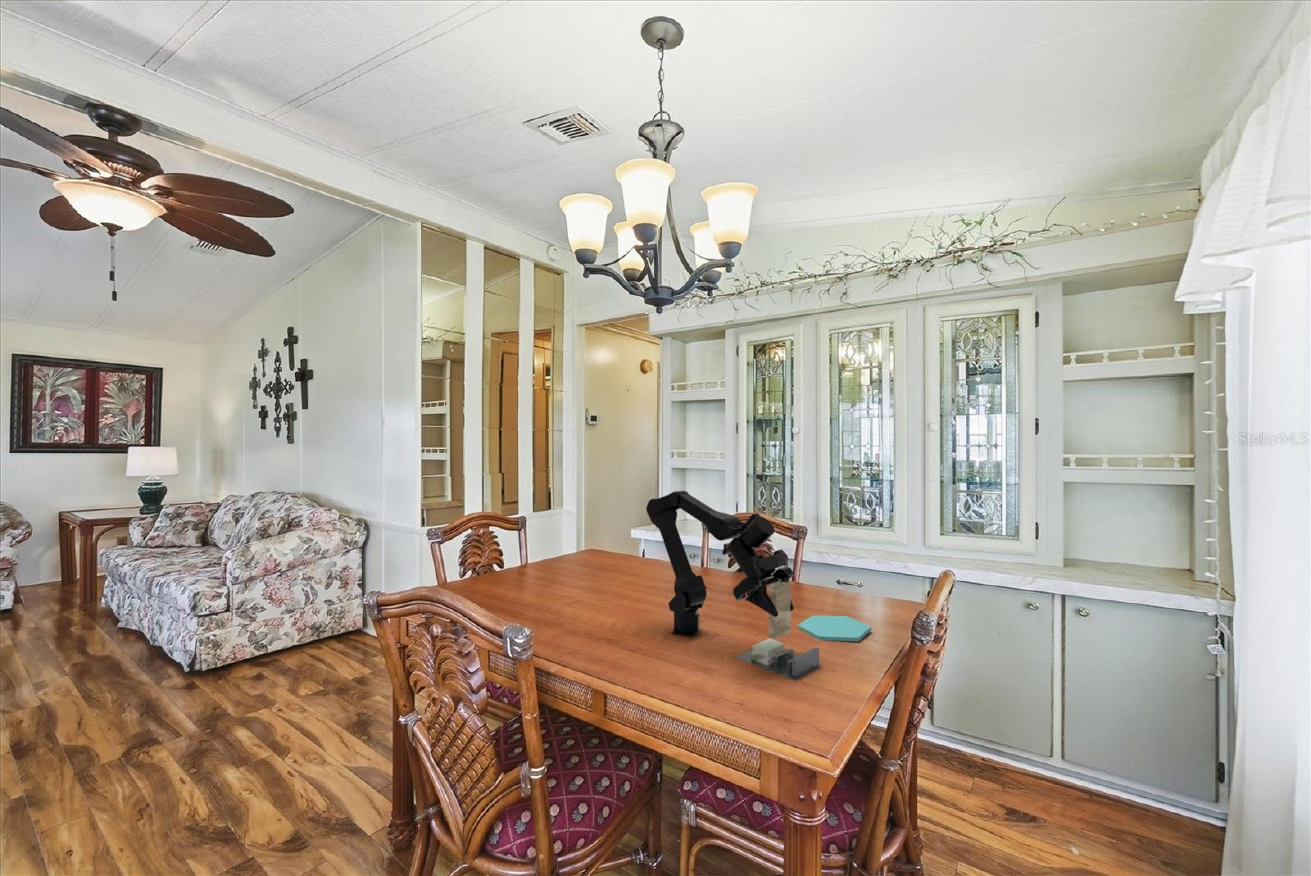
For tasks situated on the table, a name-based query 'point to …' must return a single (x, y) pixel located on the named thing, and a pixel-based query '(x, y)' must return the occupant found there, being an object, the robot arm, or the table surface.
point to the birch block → (780, 610)
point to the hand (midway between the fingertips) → (784, 613)
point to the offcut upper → (768, 647)
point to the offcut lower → (764, 658)
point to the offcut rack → (788, 663)
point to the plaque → (835, 628)
